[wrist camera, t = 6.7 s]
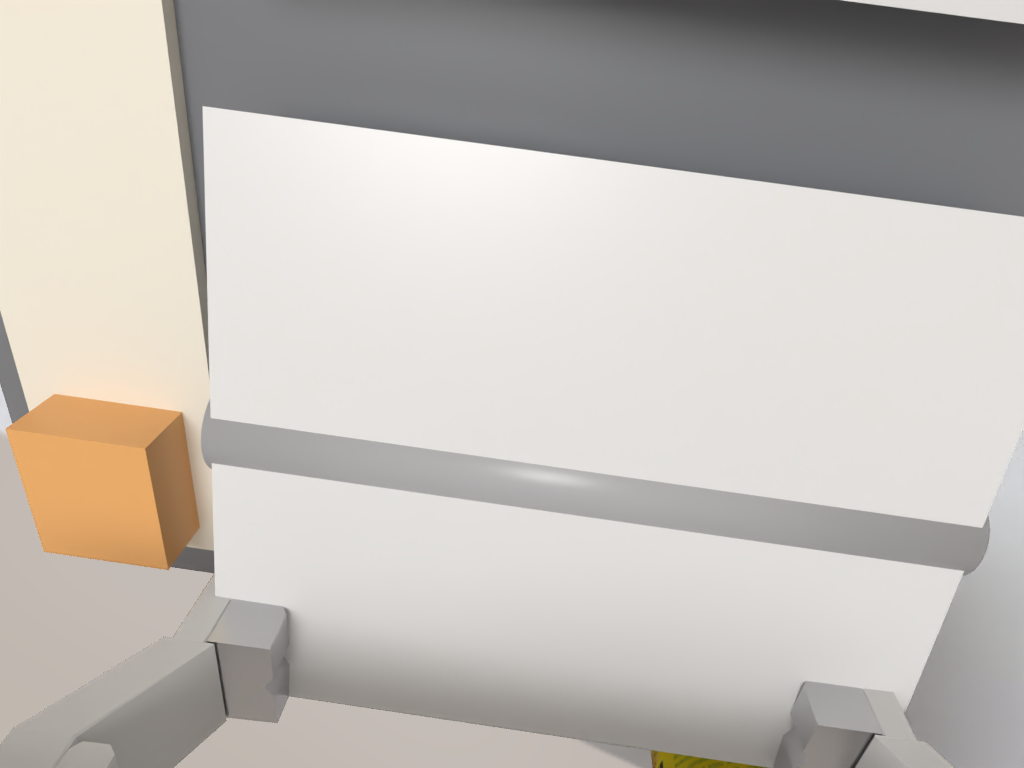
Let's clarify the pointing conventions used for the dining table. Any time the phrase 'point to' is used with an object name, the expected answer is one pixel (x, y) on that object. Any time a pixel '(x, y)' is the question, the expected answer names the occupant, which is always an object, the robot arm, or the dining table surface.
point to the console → (412, 110)
